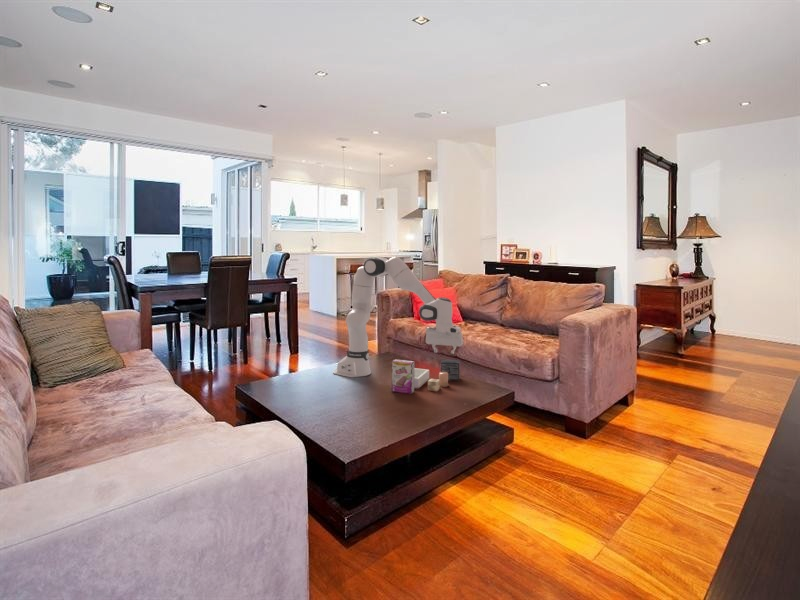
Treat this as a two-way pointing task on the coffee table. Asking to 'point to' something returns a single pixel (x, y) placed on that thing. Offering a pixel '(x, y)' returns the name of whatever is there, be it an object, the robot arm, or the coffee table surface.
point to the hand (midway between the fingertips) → (444, 353)
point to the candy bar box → (403, 376)
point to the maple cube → (434, 384)
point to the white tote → (420, 377)
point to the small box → (451, 369)
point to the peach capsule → (443, 379)
